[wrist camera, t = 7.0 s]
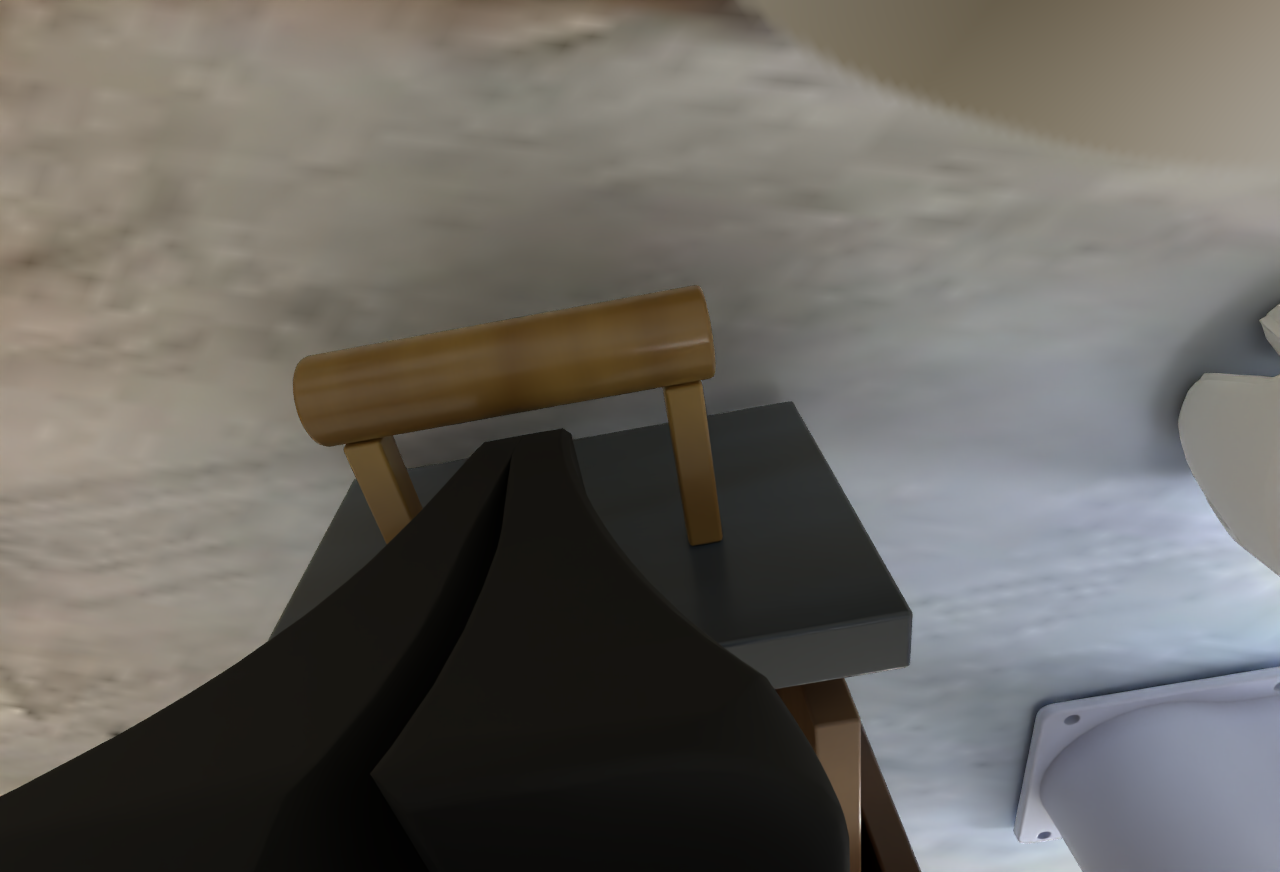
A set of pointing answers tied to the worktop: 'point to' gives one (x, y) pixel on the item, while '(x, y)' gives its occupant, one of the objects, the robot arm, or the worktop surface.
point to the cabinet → (881, 821)
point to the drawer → (637, 492)
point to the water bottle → (1239, 451)
